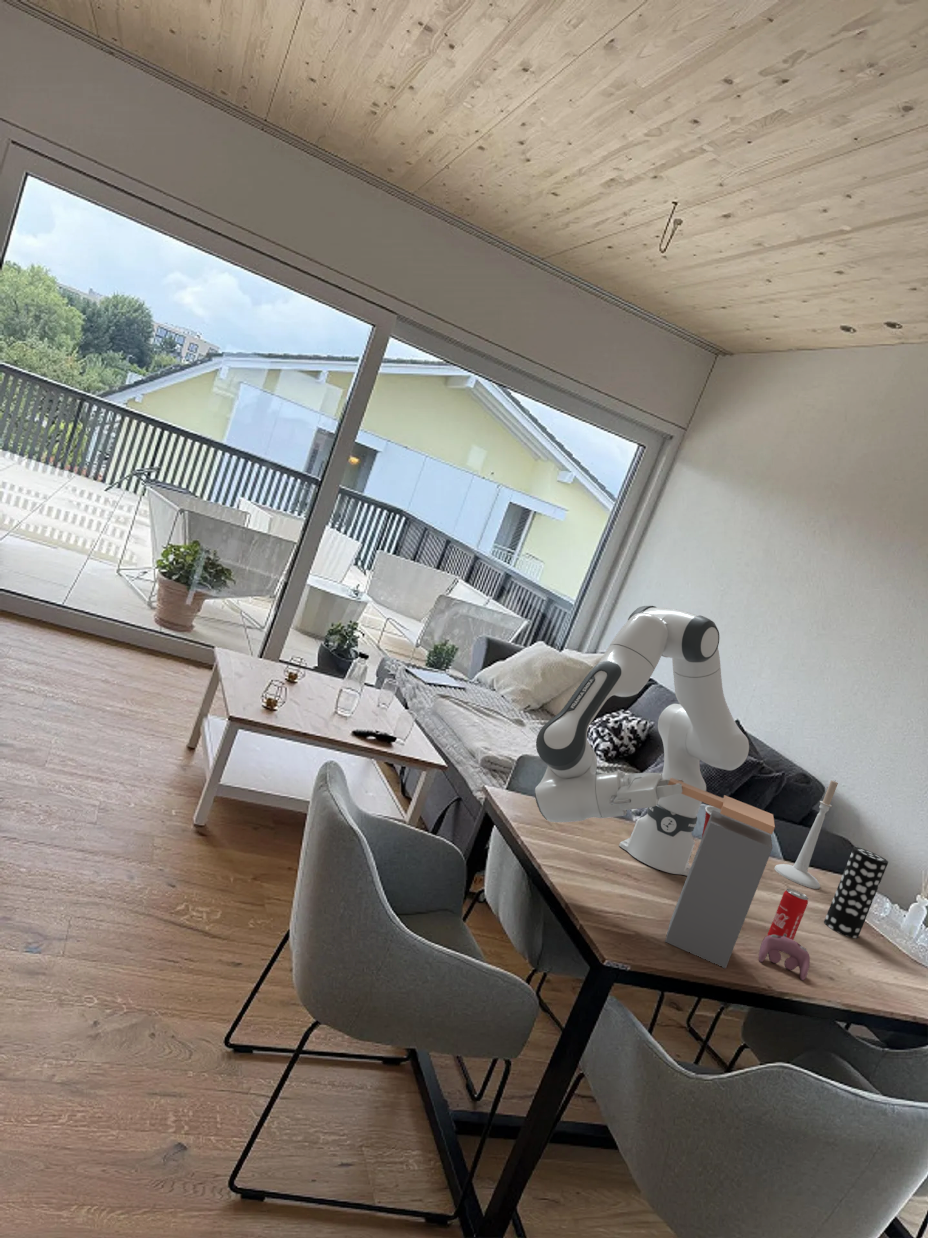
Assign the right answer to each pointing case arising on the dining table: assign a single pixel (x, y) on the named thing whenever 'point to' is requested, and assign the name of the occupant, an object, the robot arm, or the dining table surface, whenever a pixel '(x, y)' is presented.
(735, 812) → the wooden paddle
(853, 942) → the dining table surface
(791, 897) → the beverage can
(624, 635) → the robot arm
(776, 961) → the video game controller
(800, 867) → the candlestick
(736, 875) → the tall box
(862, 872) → the white-spotted black cylinder
